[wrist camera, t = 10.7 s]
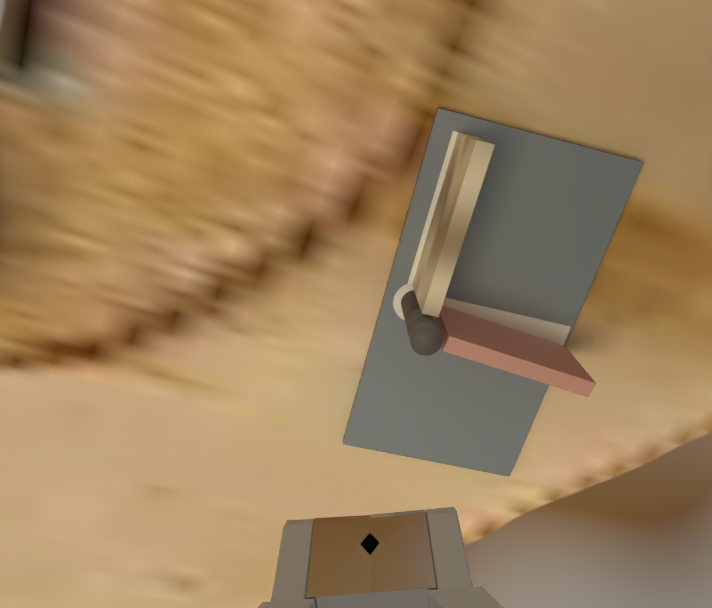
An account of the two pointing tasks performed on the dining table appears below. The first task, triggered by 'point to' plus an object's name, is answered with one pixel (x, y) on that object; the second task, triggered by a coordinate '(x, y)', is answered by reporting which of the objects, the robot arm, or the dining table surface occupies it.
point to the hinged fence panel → (512, 351)
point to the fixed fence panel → (444, 241)
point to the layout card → (489, 293)
